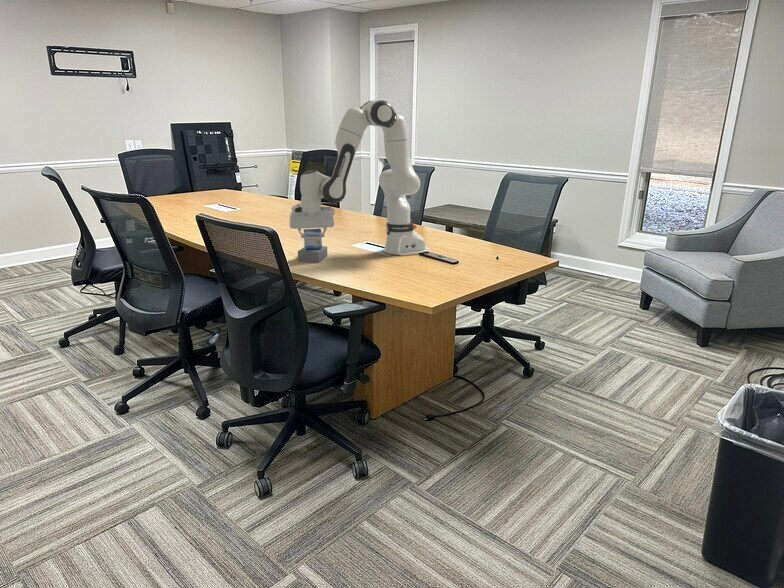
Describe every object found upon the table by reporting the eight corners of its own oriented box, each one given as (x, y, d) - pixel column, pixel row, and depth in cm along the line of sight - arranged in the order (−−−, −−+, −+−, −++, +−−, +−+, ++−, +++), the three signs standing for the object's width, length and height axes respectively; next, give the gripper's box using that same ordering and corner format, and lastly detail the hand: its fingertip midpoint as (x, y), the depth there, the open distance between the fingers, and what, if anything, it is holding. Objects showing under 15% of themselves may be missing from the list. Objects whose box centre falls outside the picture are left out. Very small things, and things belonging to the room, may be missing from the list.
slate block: (327, 256, 258) (327, 246, 257) (319, 263, 247) (318, 252, 245) (307, 255, 260) (307, 245, 259) (298, 261, 249) (297, 251, 247)
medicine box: (304, 249, 249) (303, 230, 246) (304, 247, 253) (303, 228, 250) (322, 248, 250) (321, 229, 248) (321, 246, 255) (320, 228, 252)
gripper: (333, 205, 251) (334, 234, 255) (288, 206, 247) (290, 236, 251) (335, 207, 245) (335, 237, 250) (288, 209, 241) (290, 239, 245)
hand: (312, 237), depth 250 cm, fingers closed on medicine box, 8 cm apart
